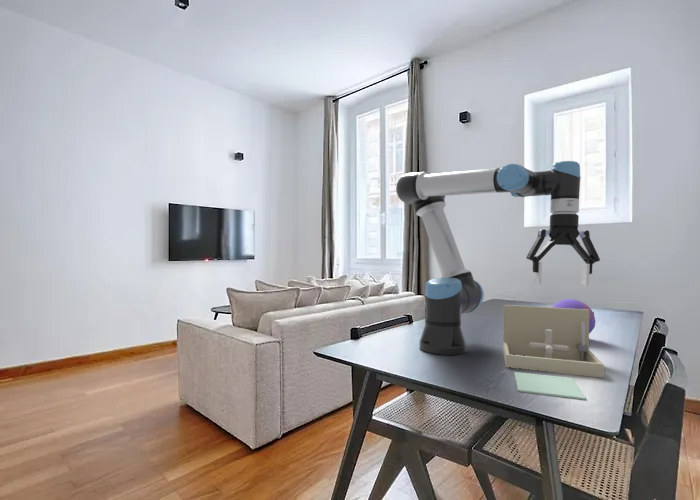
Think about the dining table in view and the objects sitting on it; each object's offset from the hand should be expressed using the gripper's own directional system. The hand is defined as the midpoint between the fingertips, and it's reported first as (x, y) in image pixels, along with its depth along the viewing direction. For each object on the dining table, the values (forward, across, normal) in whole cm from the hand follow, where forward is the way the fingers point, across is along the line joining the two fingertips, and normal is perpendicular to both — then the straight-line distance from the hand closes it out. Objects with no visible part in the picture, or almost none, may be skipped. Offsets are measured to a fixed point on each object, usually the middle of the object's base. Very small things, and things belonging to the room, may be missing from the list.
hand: (561, 284), depth 116 cm
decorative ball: (+24, +18, +30) cm, 43 cm away
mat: (+23, -13, -22) cm, 35 cm away
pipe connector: (+23, -5, -4) cm, 24 cm away
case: (+23, -5, -4) cm, 24 cm away
